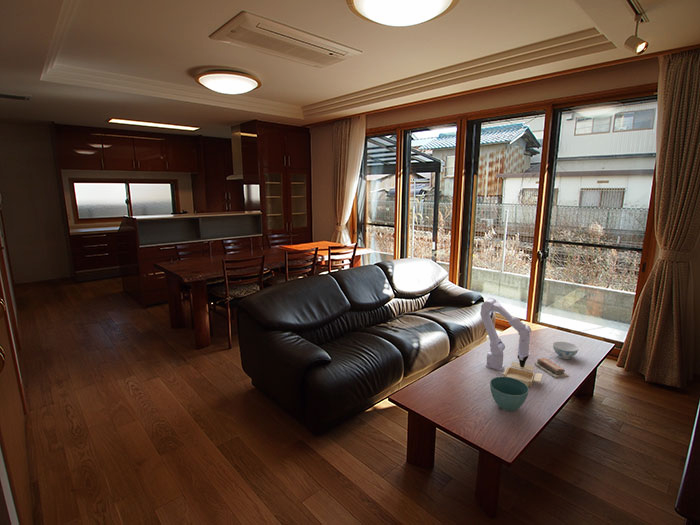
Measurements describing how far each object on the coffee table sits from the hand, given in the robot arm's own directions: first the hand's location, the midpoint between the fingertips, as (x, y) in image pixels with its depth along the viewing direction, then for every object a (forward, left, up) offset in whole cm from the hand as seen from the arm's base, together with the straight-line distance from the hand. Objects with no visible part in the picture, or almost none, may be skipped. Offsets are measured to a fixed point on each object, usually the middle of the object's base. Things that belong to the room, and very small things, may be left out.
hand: (522, 366), depth 223 cm
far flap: (+8, -8, -1) cm, 11 cm away
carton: (0, -8, -5) cm, 9 cm away
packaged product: (+14, +15, -6) cm, 21 cm away
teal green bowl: (0, -42, -5) cm, 42 cm away
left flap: (0, -1, -1) cm, 2 cm away
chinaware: (+20, +40, -5) cm, 45 cm away
